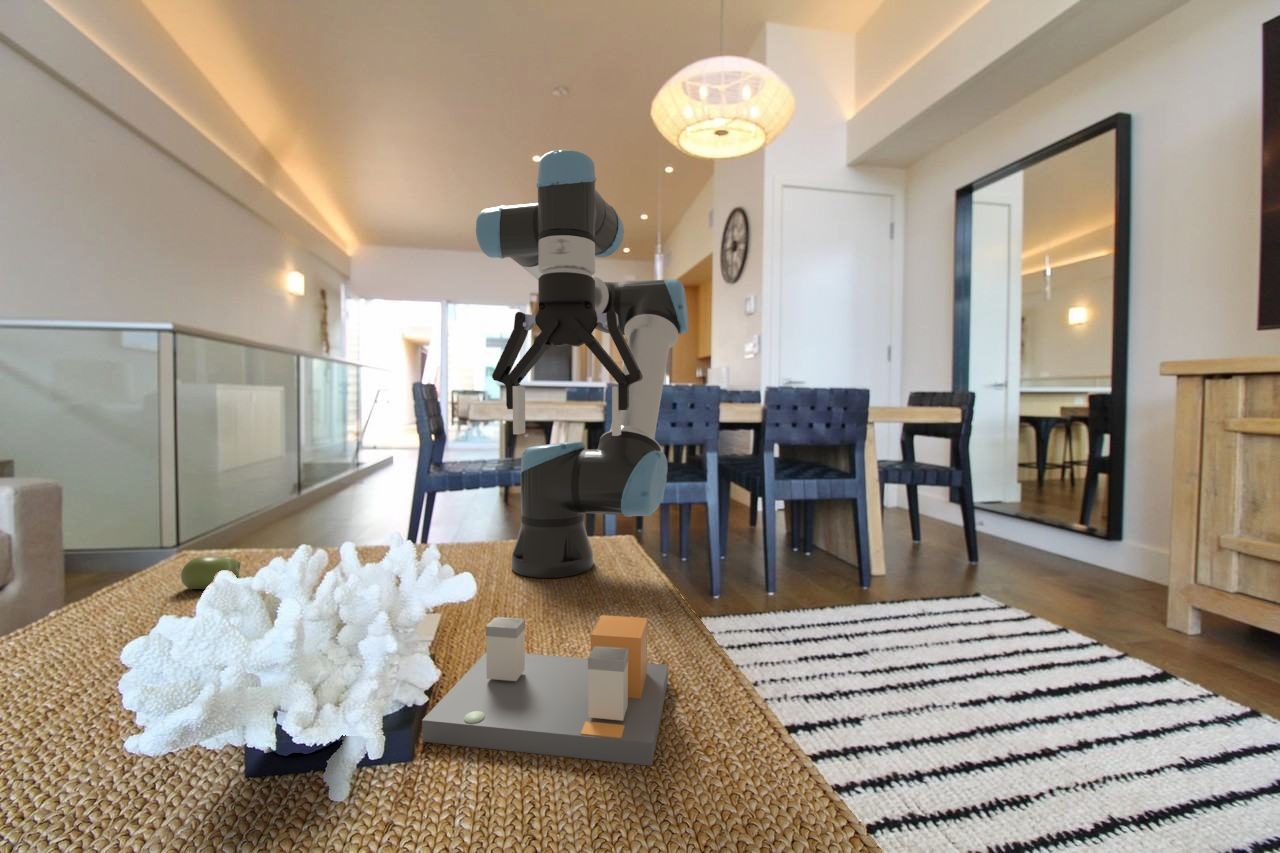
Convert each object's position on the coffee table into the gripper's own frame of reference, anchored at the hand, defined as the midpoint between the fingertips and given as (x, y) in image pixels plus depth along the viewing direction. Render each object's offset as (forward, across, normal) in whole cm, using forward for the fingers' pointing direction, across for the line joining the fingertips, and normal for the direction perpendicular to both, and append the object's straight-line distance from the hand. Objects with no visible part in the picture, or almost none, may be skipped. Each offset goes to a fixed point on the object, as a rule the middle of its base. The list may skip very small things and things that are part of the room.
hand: (567, 434), depth 74 cm
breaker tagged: (+24, +10, -24) cm, 35 cm away
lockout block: (+24, +10, -18) cm, 32 cm away
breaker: (+24, -2, -19) cm, 31 cm away
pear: (+27, -63, +8) cm, 69 cm away
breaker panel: (+26, +4, -20) cm, 33 cm away
